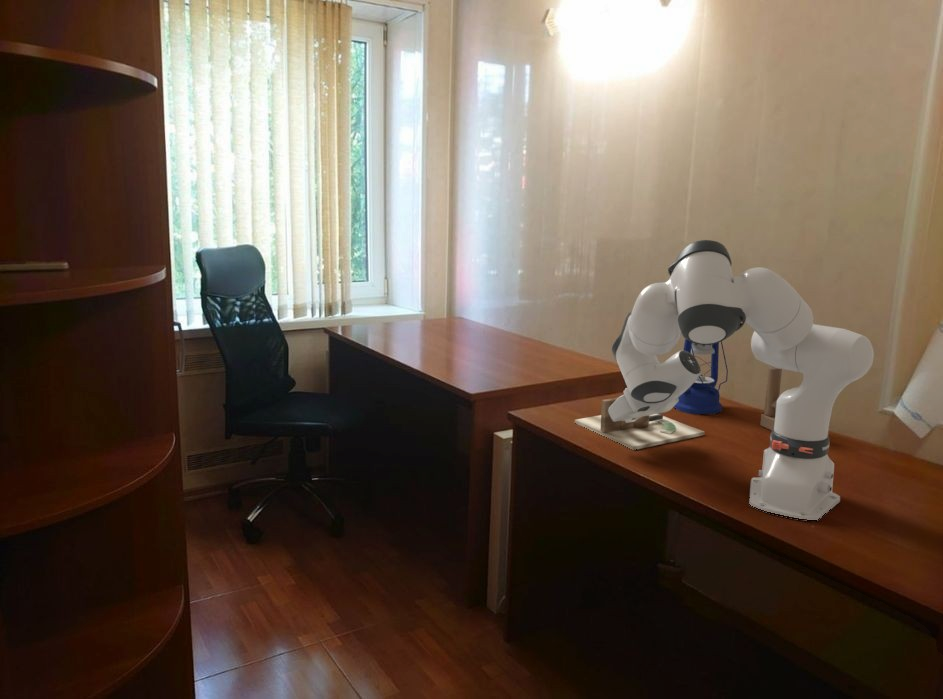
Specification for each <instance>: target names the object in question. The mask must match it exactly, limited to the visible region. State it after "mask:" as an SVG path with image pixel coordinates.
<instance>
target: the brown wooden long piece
mask: <svg viewBox="0 0 943 699" xmlns="http://www.w3.org/2000/svg"><path fill="white" fill-rule="evenodd" d="M619 397H620V396H618V397H613V398H612V397H611V398H606V399H601V411H600V412H601V414H600V415H601V431H602V432H608V431H613V430H619V429H621V430H622V429H627V428H632V427H635V428H645V427H648V426H649V422H650V421H655V420H660V419H663V416H664V415H663V414H662V413H659V415H654V416H649V415H648V416H643V417H641V418H639V419H637V420H636V421H635V422H629V423H626V422H625V420H621V421H616V422H614V421H613V420H612V419H611V417H610V415H609V412H608V409H609V407H610V406H611V405H612V404H613V403H614V402H615V401H616V400H617V399H618V398H619Z"/></svg>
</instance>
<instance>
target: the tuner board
mask: <svg viewBox="0 0 943 699" xmlns="http://www.w3.org/2000/svg"><path fill="white" fill-rule="evenodd" d="M659 414H660V413H659ZM659 414H653V415H649V416H654V415H659ZM575 423H576V425H578V426H580V427H582V428H584V427H585V429H586V428H587V429H586V430H588V429H589V431H591V432H593V431H594V432H593V433H595V432H596V433H595V434H597V433H598V434H597V435H599V434H600V436H601V435H602V436H601V437H603V436H605V437H604V438H606V437H607V438H606V439H608V438H609V439H608V440H610V439H611V440H610V441H612V440H613V441H612V442H614V441H615V442H614V443H616V442H618V443H617V444H619V443H620V444H619V445H621V444H622V445H621V446H623V445H624V446H623V447H625V446H626V448H627V447H628V449H629V448H630V450H631V449H632V451H636V449H637V450H641V449H646V448H650V447H655V446H658V445H664V444H669V443H674V442H677V441H683V440H688V439H692V438H697V437H701V436H705V431H704V430H701V429H698V428H697V427H693V426H690V425H688V424H685V423H682V422H679V421H677V420H675V419H672V418H671V417H670V418H669V417H667V416H664V415H663V419H660V420H655V421H650V422H649V426H648V427H645V428H635V427H632V428H627V429H622V430H621V429H619V430H613V431H608V432H602V431H601V414H600V415H594V416H589V417H584V418H583V417H582V418H576V419H574V424H575Z"/></svg>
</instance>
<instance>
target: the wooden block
mask: <svg viewBox="0 0 943 699" xmlns="http://www.w3.org/2000/svg"><path fill="white" fill-rule="evenodd" d="M782 371H783V369H780V368H776V367H773V366H769V367H768V369H767V380H766V389H765V399H764V401H765V402H764V413H761V415H760V426H761V427H763V428H764V429H765V428H766V430H769V431H771V432H772V429H773V428H774V423H775V413H776V403H777V399H778V398H779V396H780V395H781V394H780V392H781V383H782Z"/></svg>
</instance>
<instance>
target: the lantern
mask: <svg viewBox="0 0 943 699" xmlns="http://www.w3.org/2000/svg"><path fill="white" fill-rule="evenodd" d="M720 345H721V350H722V353H723V359H724V365H725V370H726V373H725V374H726V376H725V377H726V378H725V381H723V382H721V383H719V385H718V389H717V388H716V386H717V382H718V379H719V356H720V355H719V352H720V351H719V348H720ZM723 345H724V344H723V341H721V342H719V343H716V344H711V345H701V344H696V343H693V342H691V341H689V340H687V339H685V338H684V344H683V350H684V351H687V352H689V353H691V354H692V355H693V356H694V357H695V358H698V359H700V360H701V361H703V362H704V363H703V364H699V366H700V367H701V366H704V365H706V364H707V365H708V364H710V369H709V370H708V371H706V372H705V373H704V374H702V373H700V375H699V377H698V378H697V380H696V381H695V382H694V383H693V384H692V385H691V386H690V387H689V388H688V389H687V390H686V391H685V392H684V393H683V394H681V395H680V396H679V397H678V399H679V401H678V402H677V403H676V405H675V406H674V408H676V409H677V410H676V409H675V410H676V411H678V410H680V411H679V412H681V411H682V412H681V413H685V412H686V413H685V414H690V413H692V414H691V415H697V414H712V415H715V414H714V413H717V414H719V413H718V412H720V411H721V410H722V411H723V405H722V403H721V402H720V396H721V395H720V391H719V390H720V388H721V385H722V384H724V383H726V382H728V375H729V374H728V373H729V370H728V365H727V360H726V355H725V350H724V349H725V348H724V346H723ZM696 355H711V358H710V359H711V360H710V362H709V361H708V362H706V361H704V360H703V359H702V358H700V357H699V356H696ZM709 372H710V376H705V374H707V373H709ZM674 408H673V409H674ZM722 411H721V412H722ZM721 412H720V413H721Z"/></svg>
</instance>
